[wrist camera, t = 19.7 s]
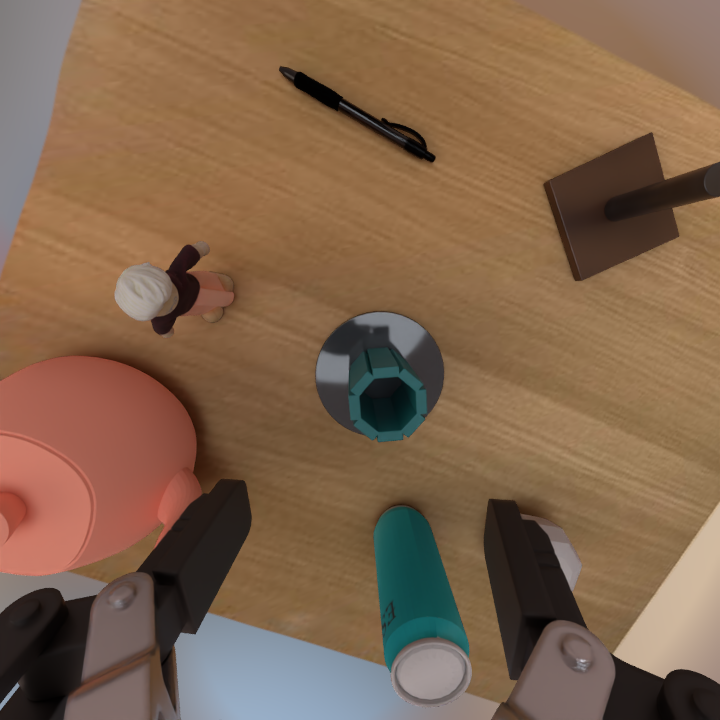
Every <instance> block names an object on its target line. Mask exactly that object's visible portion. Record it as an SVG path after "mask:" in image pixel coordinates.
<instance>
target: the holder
mask: <svg viewBox="0 0 720 720" xmlns="http://www.w3.org/2000/svg"><path fill="white" fill-rule="evenodd" d="M544 187H545V190H546V193H547V196H548V199H549V202H550V205H551V208H552V211H553V214H554V217H555V220H556V223H557V226H558V230H559V233H560V236H561V239H562V242H563V245H564V248H565V251H566V254H567V257H568V260H569V263H570V266H571V269H572V272H573V275H574V278H575V281H581V280H584V279H586V278H589V277H591V276H593V275H595V274H597V273H600V272H602V271H604V270H606V269H608V268H611V267H613V266H615V265H617V264H620V263H622V262H624V261H626V260H628V259H631V258H633V257H635V256H637V255H639V254H642V253H644V252H646V251H648V250H651V249H653V248H655V247H657V246H659V245H662V244H664V243H666V242H668V241H671V240H673V239H675V238H677V237H679V233H678V229H677V225H676V221H675V218H674V214H673V210H672V208H674V207H678V206H682V205H686V204H691V203H695V202H699V201H703V200H707V199H712V198H716V197H720V162H718V163H715V164H712V165H709V166H706V167H703V168H700V169H697V170H694V171H691V172H688V173H684V174H681V175H678V176H675V177H672V178H669V179H666V180H665V179H664V176H663V172H662V168H661V164H660V160H659V156H658V153H657V149H656V145H655V141H654V137H653V133H649V134H647V135H645V136H642V137H640V138H638V139H636V140H634V141H632V142H630V143H628V144H626V145H623V146H621V147H619V148H617V149H615V150H613V151H611V152H609V153H606V154H604V155H602V156H600V157H598V158H596V159H594V160H592V161H590V162H587V163H585V164H583V165H581V166H579V167H577V168H575V169H573V170H570V171H568V172H566V173H564V174H562V175H560V176H558V177H556V178H554V179H551V180H549V181H547V182H546V183H544Z"/></svg>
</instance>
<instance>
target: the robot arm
mask: <svg viewBox="0 0 720 720" xmlns="http://www.w3.org/2000/svg"><path fill="white" fill-rule="evenodd" d="M251 520H252V516H251V509H250V504H249V498H248V492H247V487H246V483H245V481H243V480H232V479H221V480H219V481H218V483H217V484H216V485H215V487H214V488H213V489H212V491H211V492H210V493H209V494H205V493H204V494H202V495H201V496H200V497H198V498H197V499H196V500H194V501H193V502H192V503H190V504H189V505H188V507H187V508H186V509H185V510H184V512H183V513H182V514H181V515H180V518H179V519H177V521H176V522H175V523H174V524H173V526H172V527H171V530H169V531H168V532H167V533H166V535H165V536H164V537H163V538H162V540H161V541H160V542H159V543H158V545H157V546H156V547H155V548H154V550H153V551H152V552H151V554H150V555H149V556H148V557H147V559H146V560H145V561H144V562H143V564H142V565H141V566H140V568H139V569H138V570H137V571H136V572H133V573H129V574H126V575H123V576H121V577H119V578H117V579H115V580H114V581H112V582H111V583H109V584H108V585H107V586H106V587H105V588H103V590H102V591H101V592H100V593H99V594H98V595H94V596H89V597H84V598H79V599H74V600H69V601H64V599H63V597H62V595H61V593H60V591H59V590H57V589H54V588H44V589H39V590H36V591H33V592H31V593H29V594H27V595H25V596H23V597H21V598H19V599H18V600H16V601H15V602H13V603H12V604H11V605H9V606H8V607H7V608H6V609H5V610H4V611H3V612H2V613H1V614H0V703H1V702H2V701H3V700H4V698H5V697H6V696H7V694H8V693H9V692H10V691H11V690H12V688H13V687H14V686H15V685H16V683H17V682H18V684H19V685H20V686H19V688H18V689H17V690H16V691H15V693H14V694H13V695H12V697H11V698H10V699H9V701H8V702H7V703H6V704H5V705H4V707H3V708H2V709H1V710H0V720H181V718H180V705H179V693H178V681H177V667H176V654H175V647H174V643H175V642H176V640H177V638H178V636H179V634H180V633H181V632H182V633H189V634H196V632H197V630H198V628H199V627H200V625H201V622H202V621H203V619H204V617H205V615H206V613H207V611H208V609H209V608H210V606H211V604H212V602H213V600H214V598H215V596H216V594H217V592H218V591H219V589H220V587H221V585H222V583H223V581H224V579H225V577H226V575H227V573H228V572H229V570H230V568H231V566H232V564H233V562H234V560H235V558H236V556H237V554H238V553H239V551H240V549H241V547H242V545H243V543H244V541H245V539H246V537H247V535H248V533H249V530H250V527H251ZM484 552H485V559H486V564H487V569H488V574H489V579H490V584H491V589H492V593H493V598H494V603H495V608H496V613H497V618H498V623H499V628H500V632H501V637H502V642H503V647H504V652H505V657H506V662H507V667H508V671H509V676H510V679H511V680H518V681H517V683H516V685H515V687H514V689H513V691H512V692H511V694H510V696H509V698H508V700H507V701H506V702H505V703H504V702H502V703H501V704H500V706H499V707H498V709H497V710H496V712H495V714H494V716H493V717H492V719H491V720H720V684H718V683H717V682H715V681H713V680H712V679H710V678H708V677H706V676H704V675H702V674H700V673H697V672H693V671H690V670H683V669H680V670H674V671H672V672H670V673H669V674H668V675H667V676H666V678H665V679H663V678H661V677H658V676H656V675H653V674H651V673H649V672H647V671H644V670H642V669H639V668H637V667H635V666H632V665H630V664H628V663H626V662H624V661H622V660H620V659H618V658H617V657H615V656H614V655H613V654H611V653H610V652H609V651H608V649H607V648H606V647H605V645H604V644H603V643H602V642H601V641H600V639H599V638H598V637H597V636H595V635H594V634H593V633H592V632H590V631H589V630H588V628H587V626H586V624H585V622H584V620H583V617H582V615H581V613H580V610H579V608H578V605H577V603H576V601H575V598H574V596H573V593H572V591H571V589H570V586H569V584H568V582H567V579H566V577H565V574H564V572H563V570H562V569H561V565H560V562H559V560H558V558H557V555H555V550H554V548H553V546H552V543H551V541H550V538H549V536H548V534H547V533H546V532H545V531H544V530H543V529H542V528H541V527H540V525H539V524H538V523H537V522H536V521H535V520H525V519H522V517H521V515H520V512H519V509H518V506H517V504H516V502H515V501H513V500H499V499H489V501H488V507H487V515H486V524H485V532H484Z"/></svg>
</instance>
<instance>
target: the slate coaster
mask: <svg viewBox="0 0 720 720" xmlns="http://www.w3.org/2000/svg"><path fill="white" fill-rule="evenodd" d="M384 347H388V349H389V351H390V350H391V349H393V350H394V351H396V352H397V353H398V354H399V355H400V356H401V357H403V358H404V359H405V360H406V361H407V362H408V364H409V365H410V366H411V368H412V369H413V370H414V372H415V373H416V374H417V376H418V377H419V379H420V380H421V381H422V383H423V386H424V387H425V389H426V394H427V414H423V416H424V417H426V416H427V415H428V414H429V413H430V412H431V410H432V409H433V407H434V406H435V404H436V403H437V401H438V398H439V396H440V393H441V390H442V387H443V381H444V366H443V360H442V356H441V353H440V350H439V348H438V346H437V344H436V342H435V341H434V339H433V338H432V336H431V335H430V334H429V333H428V332H427V331H426V330H425V329H424V328H423V327H422V326H421V325H419V324H418V323H417V322H415V321H413V320H412V319H410V318H408V317H405V316H403V315H400V314H397V313H393V312H384V311H379V312H369V313H364V314H361V315H358V316H355V317H353V318H351V319H349V320H347V321H346V322H344V323H343V324H341V325H340V326H339V327H338V328H336V329H335V330H334V331H333V332H332V334H331V335H330V336H329V337H328V339H327V340H326V341H325V343H324V345H323V347H322V349H321V351H320V354H319V356H318V360H317V364H316V386H317V391H318V394H319V397H320V399H321V401H322V403H323V405H324V407H325V408H326V410H327V411H328V413H329V414H330V415H331V416H332V417H333V418H334V419H335V420H336V421H337V422H338V423H339V424H341V425H342V426H344V427H345V428H347V429H349V430H351V431H353V432H356V433H359V434H362V435H365V434H364V433H362V432H361V431H360V430H359V429H357V428H356V427H355V426H354V425H353V420H350V410H349V399H348V387H349V370H350V366H351V365H352V364H353V362H354V361H355V360H356V359H357V358H358V357H359V355H360V354H361V353H362V352H363V351H364V352H365V353H367V349H372V348H384ZM367 354H368V353H367ZM401 384H402V382H401V379H400V378H399V377H391V378H379V379H374V380H373V381H372V382H371V384H370V385H369V386H368V387H367V388H366V389H365V390H364V392H365V393H366V394H367V395H368V396H369V397H371V398H372V399H378V398H390V397H391V396H392V395H393V393H394V392H395V391H396V390H397V389H398V388H399V387H400V386H401Z"/></svg>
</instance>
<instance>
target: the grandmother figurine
mask: <svg viewBox="0 0 720 720" xmlns="http://www.w3.org/2000/svg"><path fill="white" fill-rule="evenodd" d="M209 252H210V248H209V245H208V244H207V243H206V242H203V241H200V242H197V243H196V244H193V245H186V246H184V247H183V248H182V250H181V251H180V253H179V254H178V256H177V257H176V258H175V259H174V261H173V262H172V264H171V265H170V267H169V270H167V271H166V272H164V271H163V270H162V269H160V268H158V267H155V266H152V265H151V264H150V262H148V263H144V264H141V265H133V266H131V267H129V268H127V269H126V270H124V272H123V273H122V274H121V276H120V277H119V278H118V281H117V284H116V291H115V300H116V302H117V303H118V305H119V307H120V308H121V309H122V310H123V311H124V312H125V313H126V314H127V315H129V316H130V317H132V318H134V319H136V320H139V321H148V320H151V322H152V325H153V329H154V331H155V332H156V333H157V334H159V335H161V336H162V337H164V338H169V337H171V336H172V335H173V334H174V329H173V327H172V326H173V325H174V323H175V320H176V318H177V317H178V316H188V315H201V316H202V317H203V318H204V319H205V320H206V321H208V322H211V323H213V322H217V321H218V320H219V319H220V318H221V317H222V315H223V308H222V307H225V306H228V305H230V304H231V303H232V302H233V299H234V293H233V292H232V290H233V287H234V284H233V281H232V279H231V278H230V277H229V276H227V275H224V274H220V273H216V272H207V271H195V272H186V271H187V270H189V269H191V268H192V267H193V266H194V265H196V263H197V262H198V261H199V260H200V258H202V257H203V256H205V255H207V254H208V253H209Z"/></svg>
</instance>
